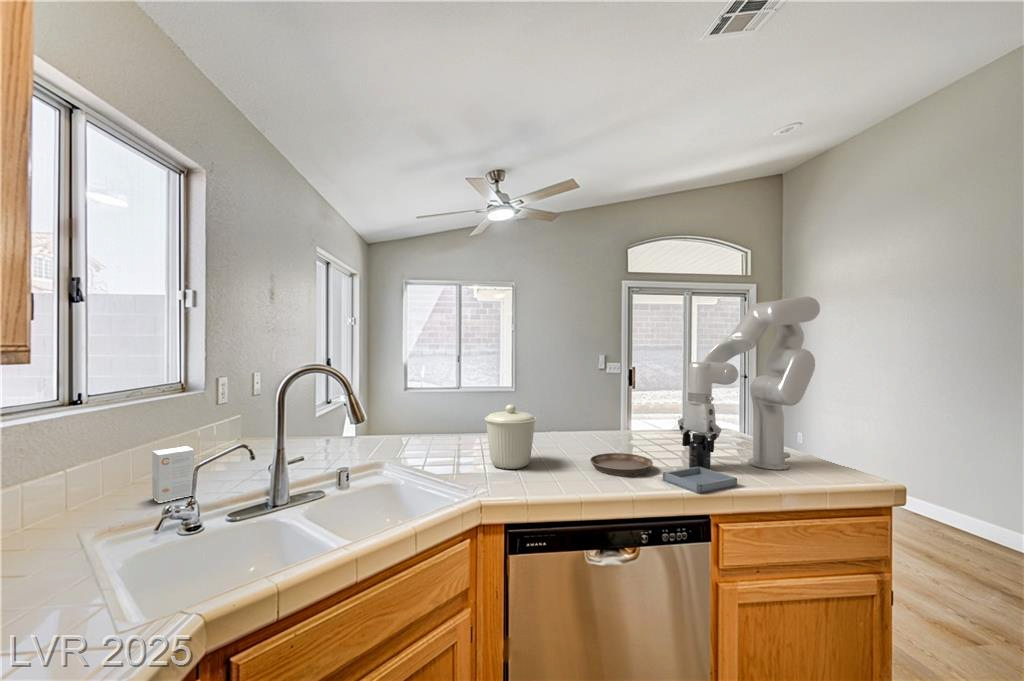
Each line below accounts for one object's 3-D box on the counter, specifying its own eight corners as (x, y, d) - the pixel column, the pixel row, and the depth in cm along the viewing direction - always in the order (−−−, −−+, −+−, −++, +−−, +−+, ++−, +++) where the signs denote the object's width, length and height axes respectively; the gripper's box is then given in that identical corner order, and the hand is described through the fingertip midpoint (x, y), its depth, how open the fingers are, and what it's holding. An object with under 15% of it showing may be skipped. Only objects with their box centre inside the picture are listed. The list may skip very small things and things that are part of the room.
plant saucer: (589, 476, 146) (589, 466, 146) (590, 460, 167) (590, 451, 167) (656, 480, 143) (656, 470, 143) (648, 463, 163) (648, 454, 163)
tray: (698, 474, 149) (698, 466, 149) (737, 486, 137) (737, 478, 137) (662, 480, 142) (662, 472, 142) (699, 494, 129) (699, 485, 129)
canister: (545, 463, 161) (546, 403, 161) (518, 476, 146) (519, 410, 146) (503, 456, 171) (503, 399, 171) (473, 467, 155) (474, 405, 155)
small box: (187, 491, 128) (187, 445, 128) (194, 496, 124) (194, 449, 124) (151, 499, 122) (151, 450, 122) (157, 504, 118) (158, 454, 118)
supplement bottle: (712, 472, 151) (712, 436, 151) (690, 471, 152) (691, 435, 152) (708, 467, 158) (708, 432, 158) (687, 466, 159) (687, 431, 159)
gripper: (729, 401, 149) (727, 454, 149) (687, 395, 164) (685, 442, 164) (713, 402, 146) (711, 455, 145) (671, 395, 161) (670, 444, 161)
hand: (697, 448), depth 155 cm, fingers open, 9 cm apart
